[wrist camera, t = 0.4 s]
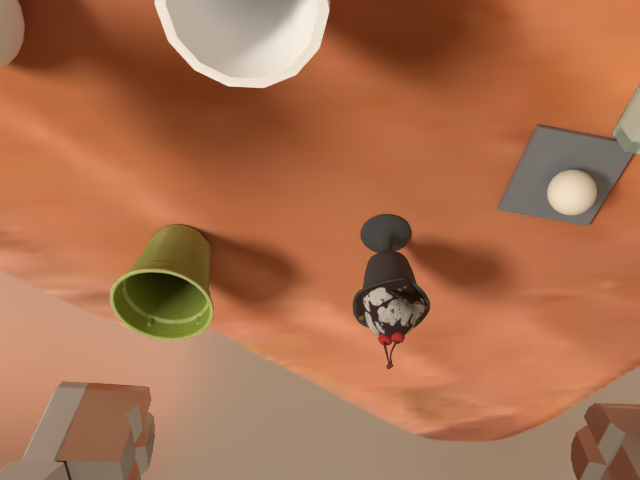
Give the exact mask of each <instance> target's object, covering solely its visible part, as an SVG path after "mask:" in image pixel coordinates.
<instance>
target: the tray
mask: <svg viewBox="0 0 640 480" xmlns="http://www.w3.org/2000/svg"><path fill="white" fill-rule="evenodd" d="M612 134H613V135H614V137H615V138H616V140H617V141H618V143H619V144H620V146H621V147H622V148H623V150H624V151H625V152H630V153H636V154H640V85H639V87H638V89H637V91H636V92H635V94H634V96H633V97H632V99H631V101H630V103H629V104H628V106H627V108H626V109H625V111H624V113H623V115H622V116H621V118H620V120H619V121H618V123H617V125H616V127H615V128H614V130H613V132H612Z"/></svg>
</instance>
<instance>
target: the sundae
mask: <svg viewBox="0 0 640 480" xmlns="http://www.w3.org/2000/svg"><path fill="white" fill-rule="evenodd" d="M410 234H411V233H410V228H409V225H408V224H407V222H405V221H404V220H403V219H402V218H400V217H397V216H394V215H379V216H376V217H373V218H371V219H370V220H368V221H367V222H366V223H365V224H364V226H363V227H362V230H361V239H362V242H363V243H364V245H365V246H366V247H368V248H369V249H370V250H372V251H375V252H378V253H377V254H375V255H374V256H372V257H371V258H370V260H369V261H368V264H367V267H366V271H365V276H364V283H363V289H361V290H359V291H358V292H357V293H356V295H355V296H354V300H353V313H354V316H355V318H356V319H357V321H358V322H359V323H360V324H362V325H363V326H366V327H368V328H370V330H371V331H372V332H373V333H374V334H376V335H378V336H379V338H378V340H379V342H380V343H381V344H382V345H384V348H385V352H386V356H387V359H388V365H387V366H386V367H387V369H390V368H391V367H393V364H392V360H391V354H392V351H393V349H394V347H395V345H396V344H399V343H402V342H403V341H404V338H405V337H404V335H405V334H407V333H408V332H410V331H411V330H412V329H413V328H414V327H416V326H417V325H418V324H419V323H421V322H422V320H423V319H424V318H425V317H426V315H427V314H428V312H429V310H430V301H429V299H428V297H427V295H426V294H425V292H424V291H423V290H422V289H421V288H420V287H419V286H418V285H417V284H416V281H415V278H414V274H413V271H412V269H411V267H410V264H409V262H408V260H407V259H406V257H405V256H404V255H402V254H401V253H399V252H396V251H397V250H399V249H401V248H402V247H404V246H405V245H406V244H407V242H408V240H409V238H410ZM392 341H393V342H394V345H393V347H392V350H391V353H390V361H389V358H388V353H387V348H386V345H390V344H391V343H392Z"/></svg>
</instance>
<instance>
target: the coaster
mask: <svg viewBox="0 0 640 480" xmlns="http://www.w3.org/2000/svg"><path fill="white" fill-rule="evenodd" d="M633 154H634V153H630V152H625V151H624V150H623V148H622V147H621V146H620V144H619V143H618V141H617V140H616V139H612V138H607V137H602V136H597V135H591V134H586V133H581V132H576V131H570V130H565V129H560V128H555V127H549V126H544V125H539V124H537V126H536V128H535V130H534V133H533V135H532V137H531V139H530V141H529V143H528V145H527V147H526V149H525V151H524V153H523V155H522V157H521V160H520V162H519V164H518V166H517V168H516V170H515V172H514V174H513V176H512V178H511V180H510V182H509V184H508V186H507V189H506V191H505V193H504V195H503V197H502V199H501V201H500V203H499V205H498V209H499V210H501V211H507V212H513V213H518V214H524V215H530V216H535V217H541V218H547V219H552V220H558V221H564V222H570V223H575V224H581V225H587V226H589V224H590V222H591V221H592V219H593V218H594V216H595V214H596V213H597V211H598V210H599V208H600V206H601V205H602V203H603V202H604V200H605V198H606V197H607V195H608V194H609V192H610V190H611V189H612V187H613V186H614V184H615V182H616V181H617V179H618V178H619V176H620V174H621V173H622V171H623V170H624V168H625V166H626V165H627V163H628V162H629V160H630V158H631V157H632V155H633ZM566 170H580V171H583V172H585V173H587V174H588V175H589V176H590V177H591V178H592V179H593V180H594V182H595V184H596V188H597V196H596V199H595V201H594V203H593V205H592V206H591V207H590V208H589V209H588V210H587V211H585V212H583V213H581V214H578V215H565V214H562V213H559V212H558V211H556V210H555V209H554V208H553V207H552V206H551V204H550V203H549V200H548V197H547V190H548V186H549V184H550V182H551V180H552V179H553V178H554V177H555V176H556V175H557V174H559V173H560V172H563V171H566Z"/></svg>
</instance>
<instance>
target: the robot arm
mask: <svg viewBox="0 0 640 480" xmlns="http://www.w3.org/2000/svg"><path fill="white" fill-rule="evenodd" d="M150 402H151V396H150V390H149V387H146V386H132V385H116V384H100V383H82V382H62V383H61V384H60V385H59V386H58V387H57V388H56V389H55V391H54V393H53V395H52V397H51V399H50V402H49V403H48V405H47V408H46V410H45V412H44V414H43V416H42V418H41V420H40V422H39V425H38V426H37V429H36V431H35V433H34V435H33V437H32V439H31V441H30V443H29V445H28V447H27V449H26V451H25V454H24V456H23V458H22V460H16V461H15V460H13V461H11V462H10V463H8V464H7V465H6V466H4V467H3V468H2V469H1V470H0V480H141V478H140V476H141V475H142V474H143V473H144V472H145V471H147V470H148V468H149V465H150V461H151V457H152V453H153V445H154V438H155V424H154V417H153V415H152V414H150V413H149V412H148V409H149V406H150ZM584 418H585V420H586V422H587V424H588V425H587V426H585V427H583V428H582V429H580V430H579V431H577V432H576V434H575V437H574V439H573V441H572V444H571V461H572V466H573V471H574V473H575V476H576V478H577V480H640V405H637V404H636V405H635V404H600V403H594V404H593V405H591V406H590V407H588V409H587V411H586V413H585V415H584Z"/></svg>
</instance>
